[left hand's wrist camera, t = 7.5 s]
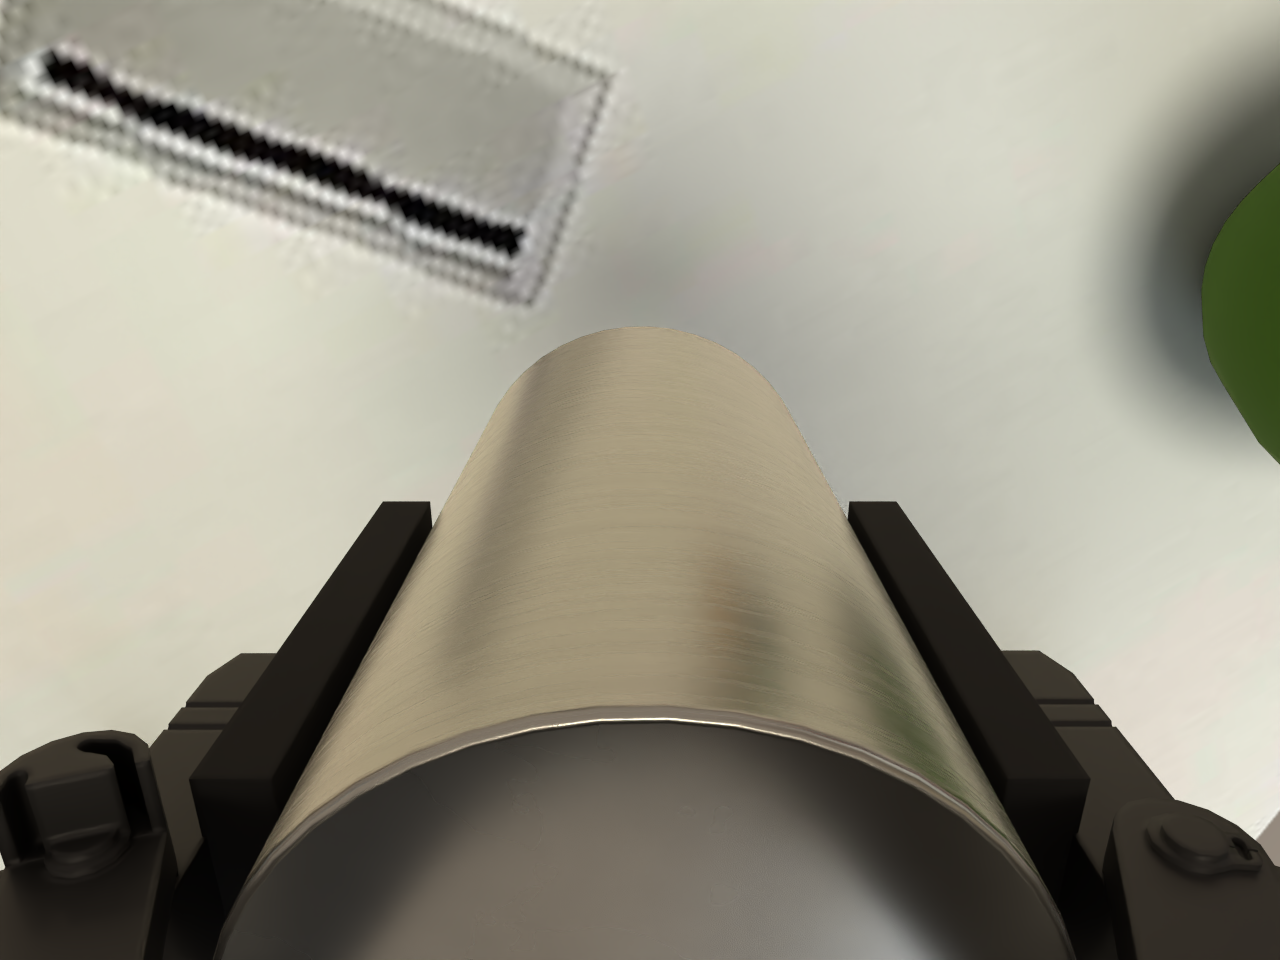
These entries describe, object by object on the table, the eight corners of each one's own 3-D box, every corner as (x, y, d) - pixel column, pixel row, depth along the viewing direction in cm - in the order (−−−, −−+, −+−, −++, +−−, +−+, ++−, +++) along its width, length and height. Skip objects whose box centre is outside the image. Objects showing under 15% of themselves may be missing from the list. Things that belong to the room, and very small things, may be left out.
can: (842, 357, 17) (1238, 790, 6) (764, 650, 19) (935, 1361, 8) (497, 297, 17) (196, 638, 5) (461, 604, 19) (201, 1286, 8)
